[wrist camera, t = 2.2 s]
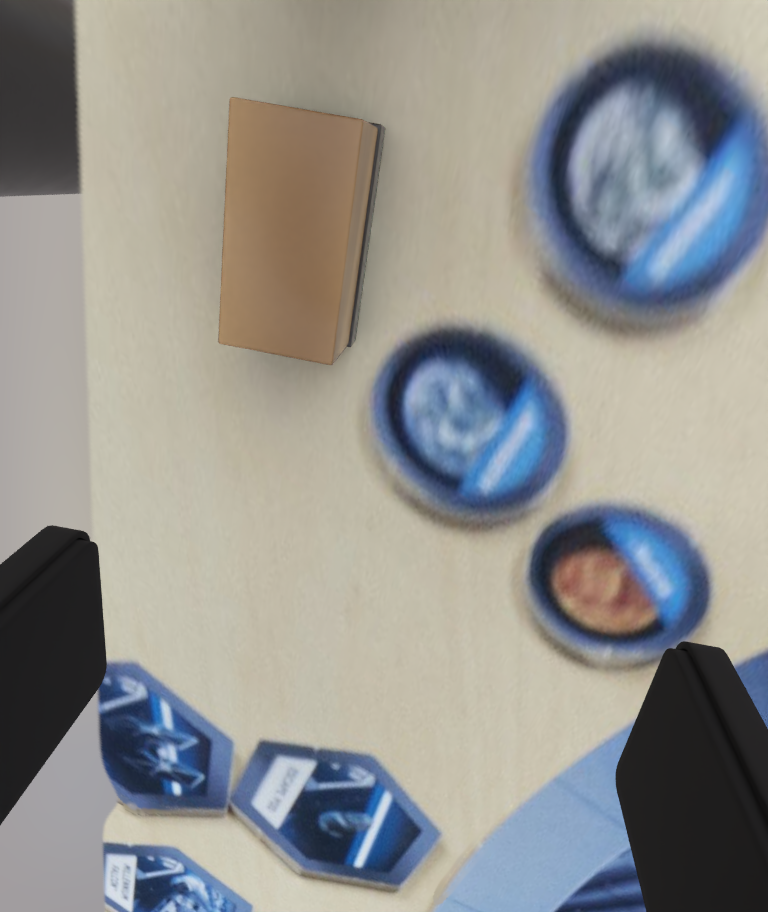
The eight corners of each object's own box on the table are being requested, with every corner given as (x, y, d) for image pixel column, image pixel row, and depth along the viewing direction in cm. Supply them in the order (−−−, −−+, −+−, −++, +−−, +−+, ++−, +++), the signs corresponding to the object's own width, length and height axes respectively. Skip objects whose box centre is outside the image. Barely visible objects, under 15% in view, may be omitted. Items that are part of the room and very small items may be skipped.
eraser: (252, 321, 25) (214, 346, 21) (267, 106, 22) (225, 91, 18) (355, 341, 25) (334, 369, 21) (385, 126, 21) (367, 116, 18)
